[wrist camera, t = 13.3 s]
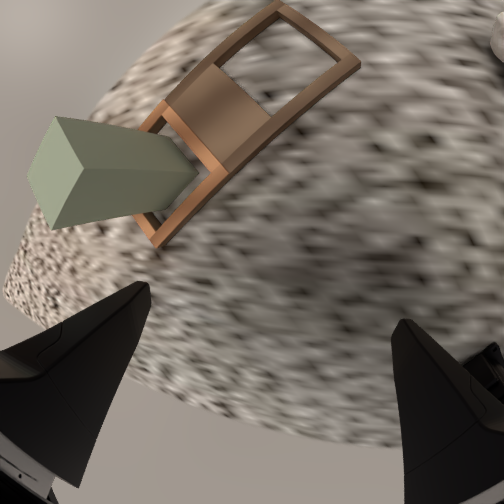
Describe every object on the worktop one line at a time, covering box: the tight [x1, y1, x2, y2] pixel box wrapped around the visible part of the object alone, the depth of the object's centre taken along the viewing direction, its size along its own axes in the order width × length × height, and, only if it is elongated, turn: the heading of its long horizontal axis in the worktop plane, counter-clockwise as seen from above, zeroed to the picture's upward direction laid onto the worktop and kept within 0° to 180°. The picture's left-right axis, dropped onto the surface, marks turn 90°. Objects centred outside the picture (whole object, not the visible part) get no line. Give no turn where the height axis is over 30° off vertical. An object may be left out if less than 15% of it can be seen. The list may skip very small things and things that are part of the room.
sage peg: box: [27, 116, 199, 230], centre depth 18 cm, size 4×4×12 cm
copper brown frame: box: [132, 0, 361, 248], centre depth 20 cm, size 9×22×1 cm, turn 131°
